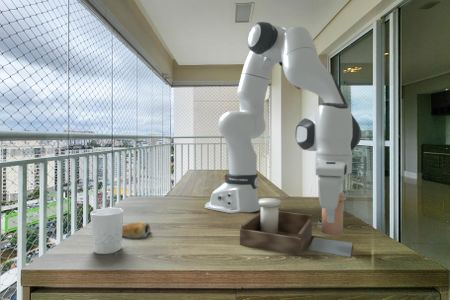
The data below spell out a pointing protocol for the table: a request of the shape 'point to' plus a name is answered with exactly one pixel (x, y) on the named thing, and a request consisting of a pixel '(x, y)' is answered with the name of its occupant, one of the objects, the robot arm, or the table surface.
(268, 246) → the wooden tray
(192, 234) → the table surface
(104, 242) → the white cup
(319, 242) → the slate tile
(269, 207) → the white glossy domed part
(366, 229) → the table surface
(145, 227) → the pastry
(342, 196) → the peach mushroom knob
